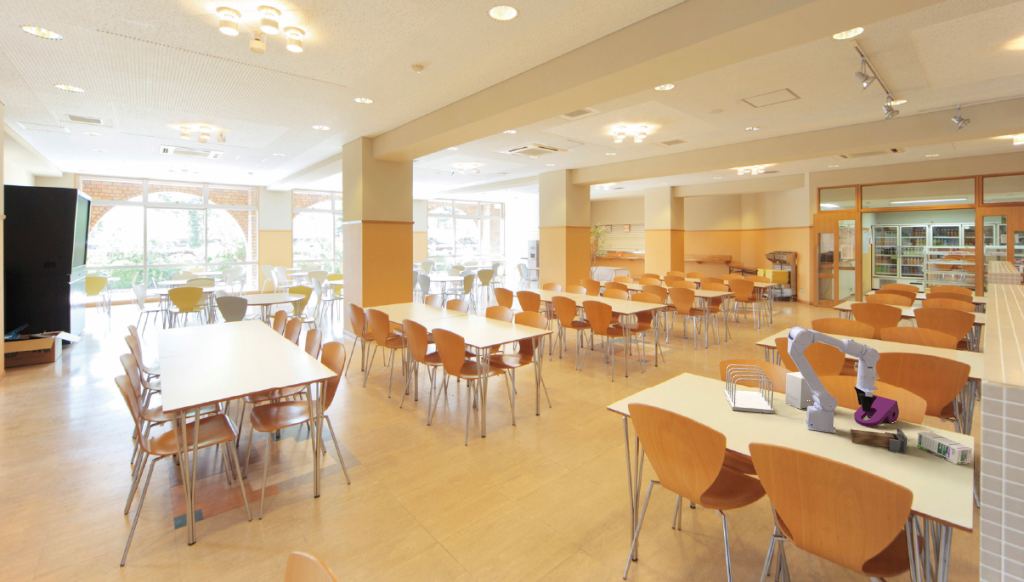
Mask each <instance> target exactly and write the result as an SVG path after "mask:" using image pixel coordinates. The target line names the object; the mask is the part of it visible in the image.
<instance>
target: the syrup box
mask: <svg viewBox="0 0 1024 582" xmlns="http://www.w3.org/2000/svg"><path fill="white" fill-rule="evenodd" d="M916 447H917V448H919V449H921V450H924V451H926V452H927V453H930V454H932V453H933V454H932V455H934V454H935V456H936V457H939V456H940V457H939V458H941V457H942V458H941V459H943V458H944V460H945V459H946V461H948V462H950V463H952V462H953V464H954V463H955V464H954V465H966V464H965V463H969V464H971V459H972V458H971V457H972V451H973V450H972V449H973V448H972V447H970V446H967V445H965V444H962V443H960V442H957V441H955V440H953V439H950V438H948V437H946V436H943V435H940V434H937V433H935V432H934V431H922V432H921V431H920V432H918V433H917V443H916ZM963 463H964V464H963Z"/></svg>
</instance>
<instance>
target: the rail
mask: <svg viewBox="0 0 1024 582" xmlns="http://www.w3.org/2000/svg"><path fill="white" fill-rule="evenodd" d="M889 439H894V440H895V437H894V436H893V434H887V433H885V432H879V431H878V432H877V431H869V430H862V429H861V430H860V429H854V428H853V429H852V428H851V429H850V441H851V443H852V444H855V443H856V444H862V445H869V446H877V447H885V448H886V447H889Z"/></svg>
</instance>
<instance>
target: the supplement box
mask: <svg viewBox="0 0 1024 582" xmlns="http://www.w3.org/2000/svg"><path fill="white" fill-rule="evenodd" d="M785 376H786V378H785V398H784V399H785V400H784V403H785V404H786V403H787V405H788V404H790V405H789V406H791V405H792V406H791V407H793V406H794V407H793V408H795V409H798V408H799V409H798V410H803V409H802V408H806V409H807V407H808V406H814V403H815V401H814V400H813V398H812V392H811V390H810V387H809V386H808V384H807V382H806V381H805V379H804V378H803V376H802V374H801V373H800V371H795V372H787V373H786V374H785ZM807 400H808V401H807ZM809 400H810V401H809Z"/></svg>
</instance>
